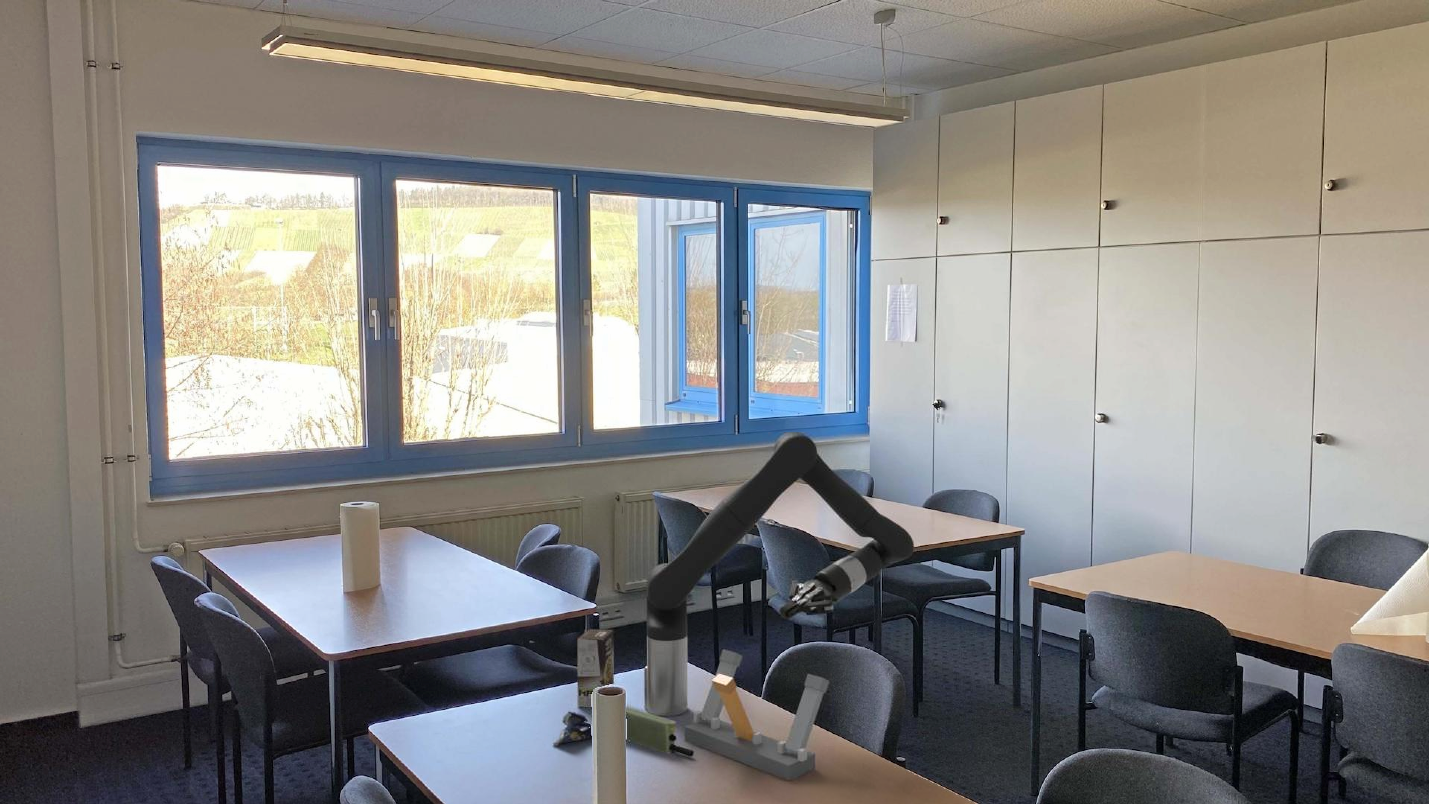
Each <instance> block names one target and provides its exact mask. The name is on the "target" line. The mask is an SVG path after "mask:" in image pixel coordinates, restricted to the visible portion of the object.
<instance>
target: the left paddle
mask: <svg viewBox="0 0 1429 804" xmlns="http://www.w3.org/2000/svg"><path fill="white" fill-rule="evenodd" d="M742 659H743V655H741V654H739V653H737V652H735V651H731V650H728V649H724V648H723V650H722V651H721V655H720V657H719V661H720V662H719V664H718V667H717V670H716V673H715V675H714V678H715V677H716V676H717V675H718V674H722V675H725V676H728V677H732V678H733V679H734V677H735V673H736V672H737V668H738V667H740V665H741V662H742ZM723 706H724V704H723V701H722V699H721V696H720V694H719V692H718V690H716V689H715V687H714V685H713V682H712V684H711V687H710V689H709V692H708V694H707V697H706V700H705V703H704V704H703V708H702V710H701V712H702V713H701V716H700V717H701V718H702V720H705V719H706V720H709V721H711V719H712V718H715V717H717V718H720V714H721V712H722V709H723Z"/></svg>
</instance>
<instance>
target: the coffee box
mask: <svg viewBox="0 0 1429 804" xmlns="http://www.w3.org/2000/svg"><path fill="white" fill-rule="evenodd" d="M614 631H615V630H613V629H601V628H599V629H593V628H592V629H590V628H589V629H588V630H586V631H585V632H584V633H582V634H581V635H580V636H579V637H578V638H577V670H576V671H577V707H580V708H589V709H590V708H591V694H592V692H593V690H594V689H595V688H597V687H602V686H605V685H609V684H614V685H615V679H614V678H615V677H614V676H615V674H614V673H615V672H614V665H615V664H614V661H615V660H614V659H615V657H614V656H615V655H614V650H615V649H614V648H615V647H614V643H615V642H614Z"/></svg>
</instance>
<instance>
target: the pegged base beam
mask: <svg viewBox="0 0 1429 804" xmlns="http://www.w3.org/2000/svg"><path fill="white" fill-rule="evenodd" d="M701 713H702V710H701V711H700V710H698V711H696V712H693V723H691V724H689V725H686V726H684V741H685V742H687V743H690V744H693V745H695V746H698V747H701V748H703V749H706V750H708V751H711V752H713V753H716V754H719V755H721V756H724V757H727V758H729V759H732V760H733V761H734V760H735V761H737V762H738V763H741V764H744V765H747V766H749V767H753V768H755V769H757V770H759V771H762V772H765V773H767V774H771V775H772V776H776V777H777V778H781V779H783V780H785V781H788V782H789V781H791V780H793V779H796V778H798V777H800V776H803V775H805V774H807V773H809V772H811V771H814V770H816V753H813V752H811V751H808V749H807V748H802V749H799V750H798V753H797V752H795V751H792V750H789V749H787V748H785V745H786V742H787V741H785V740H782V741H780V740H777V739H773V737H768V736H766V735H763V734H762V732H759V731H757V732H754V731H753V732H754V734H753V739H752V740H751V741H748V740H746V739H743V738H740V737H737V734H736V732H735V730H734V727H733V725H732V723H730V722H726V721H724V720H720V717H719V718H717V717H715V718H712V719H711V721H709V720H706V719H703V718H701V717H700V716H701Z"/></svg>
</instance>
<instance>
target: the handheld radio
mask: <svg viewBox="0 0 1429 804" xmlns="http://www.w3.org/2000/svg"><path fill="white" fill-rule="evenodd" d="M625 707H626V719H627V740H626V742H627V741H628V740H630V741H628V742H630V743H634V744H636V743H638V744H637V745H639V744H641V745H640V746H642V745H643V747H646V746H647V747H646V748H649V747H650V748H649V749H652V748H654V749H653V750H655V749H656V750H655V751H659V752H661V751H663V752H662V753H664V752H665V754H671V753H672V752H671V751H673V752H675V753H679V754H681V755H683V756H687V757H690V758H692V757H693V756H694V755H695V754H694V753H695V751H694V750H692V749H689V748H685V747H683V746H680V745H676V744H675V741H677V736H676V735H675V731H676V730H677V728H676V726H674V725H675V724H676V723H677V721H675V720H672V719H669V718H665V717H663V716H659V715H654V714H651V713H650V712H646V711H641V710H638V709H635V708H632V707H628V706H625Z"/></svg>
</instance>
